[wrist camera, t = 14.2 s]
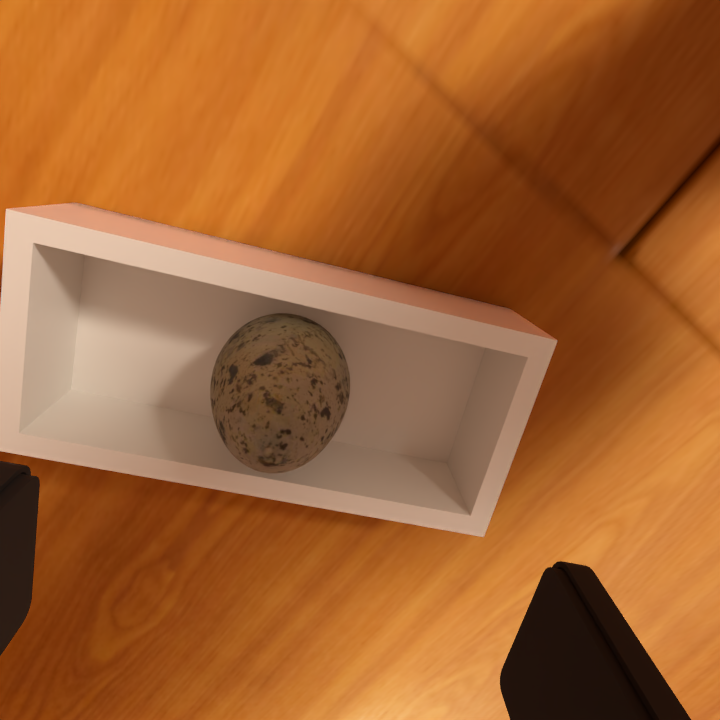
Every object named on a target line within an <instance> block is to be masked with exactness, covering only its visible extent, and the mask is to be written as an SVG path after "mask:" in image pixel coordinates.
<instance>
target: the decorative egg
mask: <svg viewBox="0 0 720 720" xmlns="http://www.w3.org/2000/svg"><path fill="white" fill-rule="evenodd" d="M349 394H350V374H349V369H348V364H347V361H346V358H345V355H344V353H343V351H342V349H341V347H340V346H339V344H338V343H337V341H336V340H335V338H334V337H333V336H332V335H331V334H330V333H329V332H328V331H327V330H326V329H325V328H323V327H322V326H321V325H319V324H318V323H316V322H314V321H313V320H311V319H308V318H306V317H303V316H300V315H295V314H289V313H276V314H270V315H265V316H262V317H259V318H256V319H254V320H252V321H250V322H248V323H247V324H245V325H244V326H242V327H241V328H240V329H238V330H237V331H236V332H235V333H234V334H233V335H232V336H231V337H230V338H229V339H228V341H227V342H226V343H225V345H224V346H223V348H222V350H221V351H220V353H219V355H218V357H217V360H216V362H215V365H214V368H213V373H212V378H211V385H210V400H211V408H212V414H213V418H214V422H215V424H216V427H217V430H218V432H219V434H220V437H221V439H222V441H223V442H224V444H225V446H226V447H227V449H228V450H229V451H230V452H231V454H232V455H233V456H234V457H235V458H236V459H237V460H239V461H240V462H241V463H243V464H244V465H246V466H247V467H249V468H251V469H253V470H256V471H259V472H264V473H283V472H288V471H291V470H294V469H297V468H299V467H301V466H303V465H305V464H306V463H308V462H310V461H311V460H312V459H314V458H315V457H316V456H317V455H318V454H319V453H320V452H321V451H322V450H323V449H324V448H325V447H326V446H327V444H328V443H329V442H330V441H331V439H332V438H333V436H334V435H335V433H336V432H337V430H338V428H339V426H340V424H341V422H342V420H343V418H344V415H345V412H346V409H347V406H348V401H349Z"/></svg>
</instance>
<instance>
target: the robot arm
mask: <svg viewBox="0 0 720 720" xmlns="http://www.w3.org/2000/svg"><path fill="white" fill-rule="evenodd" d="M39 486H40V483H39V478H38V477H37V476H31V471H30V469H29V467H28V466H25V465H20V464H14V463H8V462H3V461H0V655H1V654H2V653H3V651H4V650H5V648H6V647H7V645H8V644H9V642H10V641H11V639H12V638H13V636H14V635H15V634H16V632H17V631H18V629H19V628H20V626H21V625H22V623H23V621H24V620H25V618H26V616H27V613H28V611H29V608H30V604H31V599H32V585H33V571H34V557H35V543H36V528H37V514H38V500H39ZM500 687H501V692H502V695H503V698H504V701H505V705H506V708H507V711H508V714H509V717H510V720H691V719H690V717H689V716H688V714H687V713H686V711H685V710H684V708H683V707H682V705H681V704H680V702H679V701H678V699H677V698H676V696H675V694H674V693H673V691H672V690H671V688H670V687H669V685H668V684H667V682H666V681H665V679H664V678H663V676H662V675H661V673H660V672H659V670H658V669H657V667H656V666H655V664H654V663H653V661H652V660H651V658H650V657H649V655H648V654H647V652H646V650H645V649H644V647H643V646H642V644H641V643H640V641H639V640H638V638H637V637H636V635H635V634H634V632H633V631H632V629H631V628H630V626H629V625H628V623H627V622H626V620H625V619H624V617H623V616H622V614H621V613H620V611H619V610H618V608H617V606H616V605H615V603H614V602H613V600H612V599H611V597H610V596H609V594H608V593H607V591H606V590H605V588H604V587H603V585H602V584H601V582H600V581H599V579H598V578H597V576H596V575H595V573H594V572H593V570H592V569H591V568H590V567H588V566H584V565H579V564H573V563H567V562H562V561H560V562H556V563H555V564H554V565H553V567H552V568H551V567H549V568H547V569H546V570H545V571H544V573H543V575H542V577H541V580H540V582H539V584H538V587H537V589H536V591H535V594H534V596H533V598H532V600H531V603H530V605H529V607H528V610H527V612H526V614H525V617H524V619H523V621H522V624H521V626H520V628H519V631H518V633H517V635H516V638H515V640H514V642H513V645H512V647H511V649H510V652H509V654H508V656H507V659H506V661H505V663H504V666H503V668H502V671H501V676H500Z"/></svg>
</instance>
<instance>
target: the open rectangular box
mask: <svg viewBox="0 0 720 720" xmlns="http://www.w3.org/2000/svg"><path fill="white" fill-rule="evenodd" d="M276 313H289V314H295V315H300V316H303V317H306V318H308V319H311V320H313V321H314V322H316V323H318V324H319V325H321V326H322V327H323V328H325V329H326V330H327V331H328V332H329V333H330V334H331V335H332V336H333V337H334V338H335V340H336V341H337V343H338V344H339V346H340V347H341V349H342V351H343V353H344V355H345V358H346V361H347V364H348V369H349V374H350V394H349V401H348V406H347V409H346V412H345V415H344V418H343V420H342V422H341V424H340V426H339V428H338V430H337V432H336V433H335V435H334V436H333V438H332V439H331V441H330V442H329V443H328V444H327V446H326V447H325V448H324V449H323V450H322V451H321V452H320V453H319V454H318V455H317V456H316V457H315V458H314V459H312V460H311V461H310V462H308V463H306V464H305V465H303V466H301V467H299V468H297V469H294V470H291V471H288V472H283V473H264V472H259V471H256V470H253V469H251V468H249V467H247V466H246V465H244V464H243V463H241V462H240V461H239V460H237V459H236V458H235V457H234V456H233V455H232V454H231V452H230V451H229V450H228V449H227V447H226V446H225V444H224V442H223V441H222V439H221V437H220V434H219V432H218V430H217V427H216V424H215V422H214V418H213V414H212V408H211V400H210V385H211V378H212V373H213V368H214V365H215V362H216V360H217V357H218V355H219V353H220V351H221V350H222V348H223V346H224V345H225V343H226V342H227V341H228V339H229V338H230V337H231V336H232V335H233V334H234V333H235V332H236V331H237V330H238V329H240V328H241V327H242V326H244V325H245V324H247V323H248V322H250V321H252V320H254V319H256V318H259V317H262V316H265V315H270V314H276ZM557 341H558V340H556V339H555V338H553V337H552V336H550V335H549V334H547V333H546V332H544V331H543V330H541V329H540V328H538V327H537V326H535V325H534V324H532V323H531V322H529V321H528V320H526V319H525V318H523V317H522V316H520V315H519V314H517V313H516V312H514V311H513V310H511V309H509V308H505V307H501V306H497V305H493V304H489V303H484V302H480V301H476V300H472V299H468V298H464V297H460V296H456V295H452V294H448V293H444V292H439V291H435V290H431V289H427V288H423V287H419V286H415V285H411V284H407V283H403V282H399V281H394V280H390V279H386V278H382V277H378V276H374V275H370V274H366V273H362V272H358V271H354V270H349V269H345V268H341V267H337V266H333V265H329V264H325V263H321V262H317V261H313V260H309V259H304V258H300V257H296V256H292V255H288V254H284V253H280V252H276V251H272V250H268V249H264V248H260V247H255V246H251V245H247V244H243V243H239V242H235V241H231V240H227V239H223V238H219V237H215V236H210V235H206V234H202V233H198V232H194V231H190V230H186V229H182V228H178V227H174V226H170V225H165V224H161V223H157V222H153V221H149V220H145V219H141V218H137V217H133V216H129V215H125V214H120V213H116V212H112V211H108V210H104V209H100V208H96V207H92V206H88V205H84V204H80V203H66V204H55V205H44V206H32V207H21V208H10V209H6V219H5V236H4V253H3V270H2V287H1V304H0V451H2V452H7V453H13V454H19V455H24V456H30V457H36V458H41V459H47V460H52V461H58V462H64V463H69V464H75V465H81V466H86V467H92V468H97V469H103V470H109V471H114V472H120V473H126V474H131V475H137V476H142V477H148V478H154V479H159V480H165V481H171V482H176V483H182V484H187V485H193V486H199V487H204V488H210V489H216V490H221V491H227V492H233V493H238V494H244V495H249V496H255V497H261V498H266V499H272V500H278V501H283V502H289V503H294V504H300V505H306V506H311V507H317V508H323V509H328V510H334V511H339V512H345V513H351V514H356V515H362V516H368V517H373V518H379V519H384V520H390V521H396V522H401V523H407V524H413V525H418V526H424V527H429V528H435V529H441V530H446V531H452V532H458V533H463V534H469V535H474V536H480V537H484V536H485V533H486V530H487V528H488V525H489V522H490V520H491V517H492V514H493V512H494V509H495V506H496V504H497V501H498V498H499V496H500V493H501V490H502V488H503V485H504V482H505V480H506V477H507V474H508V472H509V469H510V466H511V464H512V461H513V458H514V456H515V453H516V450H517V448H518V445H519V442H520V440H521V437H522V434H523V432H524V429H525V426H526V424H527V421H528V418H529V416H530V413H531V410H532V408H533V405H534V402H535V400H536V397H537V394H538V392H539V389H540V387H541V384H542V381H543V379H544V376H545V373H546V371H547V368H548V365H549V363H550V360H551V357H552V355H553V352H554V349H555V347H556V344H557Z"/></svg>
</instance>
